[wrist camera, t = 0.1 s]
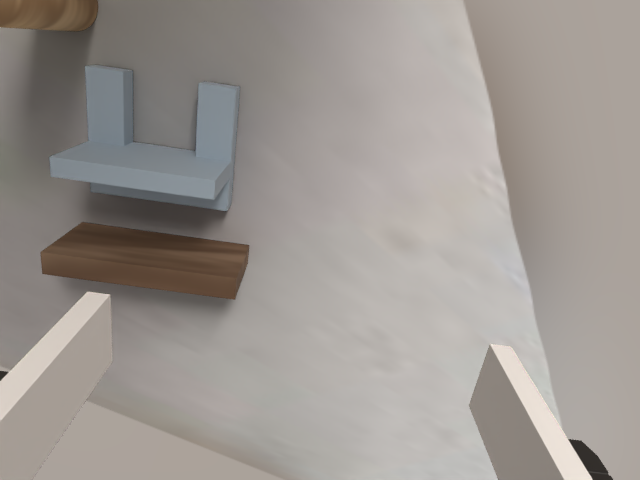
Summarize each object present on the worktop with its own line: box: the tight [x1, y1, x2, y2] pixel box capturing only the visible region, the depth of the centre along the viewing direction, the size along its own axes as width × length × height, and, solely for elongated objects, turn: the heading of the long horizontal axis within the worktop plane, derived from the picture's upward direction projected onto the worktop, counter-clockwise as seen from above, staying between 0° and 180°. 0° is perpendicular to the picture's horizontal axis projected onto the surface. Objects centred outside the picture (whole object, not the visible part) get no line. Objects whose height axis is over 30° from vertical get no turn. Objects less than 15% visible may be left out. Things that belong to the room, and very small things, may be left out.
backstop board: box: [41, 222, 249, 299], centre depth 42 cm, size 2×16×7 cm, turn 82°
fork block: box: [49, 65, 240, 211], centre depth 37 cm, size 10×12×8 cm
